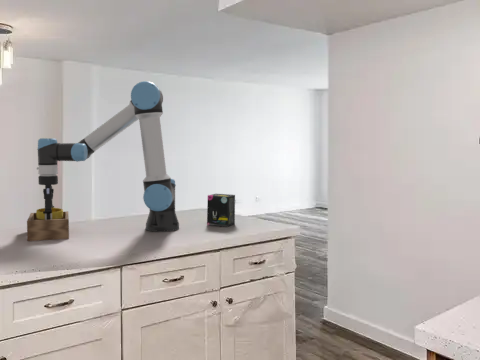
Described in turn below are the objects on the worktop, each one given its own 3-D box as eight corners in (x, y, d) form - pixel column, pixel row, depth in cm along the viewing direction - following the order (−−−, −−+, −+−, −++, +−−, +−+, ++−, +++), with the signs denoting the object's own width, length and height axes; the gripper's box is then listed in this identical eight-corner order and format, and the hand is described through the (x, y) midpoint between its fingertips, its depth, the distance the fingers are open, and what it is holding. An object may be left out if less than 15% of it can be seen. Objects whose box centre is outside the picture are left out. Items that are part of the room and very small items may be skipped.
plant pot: (53, 236, 188) (53, 212, 187) (31, 233, 190) (31, 210, 189) (67, 231, 198) (67, 208, 197) (46, 229, 200) (46, 206, 199)
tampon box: (206, 225, 221) (206, 195, 219) (214, 222, 229) (215, 193, 228) (227, 227, 216) (227, 196, 215) (235, 224, 225) (235, 194, 224)
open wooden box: (68, 228, 208) (68, 211, 207) (69, 238, 187) (68, 219, 186) (31, 230, 202) (30, 212, 202) (27, 241, 181) (26, 221, 181)
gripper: (39, 173, 202) (41, 222, 204) (36, 177, 180) (38, 232, 182) (58, 173, 205) (59, 221, 207) (57, 177, 183) (58, 230, 184)
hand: (49, 226), depth 194 cm, fingers open, 12 cm apart
